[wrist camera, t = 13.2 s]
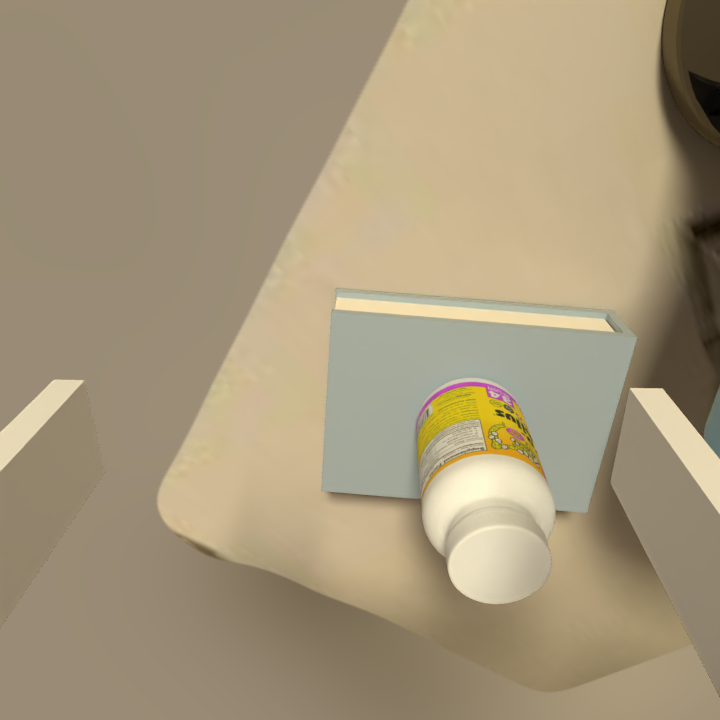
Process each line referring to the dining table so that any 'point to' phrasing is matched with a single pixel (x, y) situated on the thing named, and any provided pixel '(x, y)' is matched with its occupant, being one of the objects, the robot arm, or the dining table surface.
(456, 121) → the dining table surface
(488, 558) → the supplement bottle
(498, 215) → the dining table surface
